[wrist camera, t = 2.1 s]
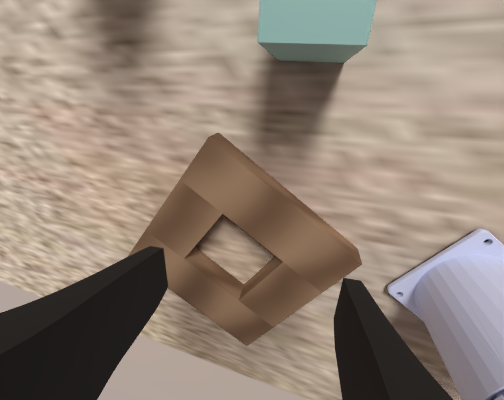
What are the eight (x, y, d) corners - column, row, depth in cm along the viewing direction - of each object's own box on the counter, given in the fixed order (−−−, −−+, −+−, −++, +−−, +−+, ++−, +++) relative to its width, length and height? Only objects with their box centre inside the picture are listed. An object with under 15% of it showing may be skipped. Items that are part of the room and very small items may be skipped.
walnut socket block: (357, 248, 20) (362, 264, 18) (251, 328, 26) (246, 345, 24) (218, 132, 19) (208, 137, 17) (140, 245, 25) (127, 257, 23)
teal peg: (358, -22, 14) (399, -114, 7) (344, 62, 15) (367, 45, 9) (284, -20, 14) (265, -104, 8) (278, 60, 16) (257, 42, 10)
